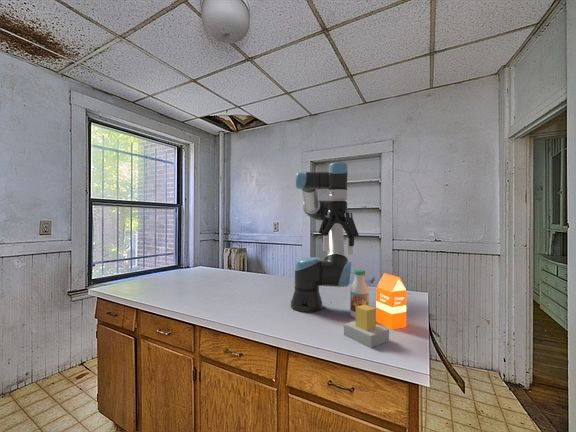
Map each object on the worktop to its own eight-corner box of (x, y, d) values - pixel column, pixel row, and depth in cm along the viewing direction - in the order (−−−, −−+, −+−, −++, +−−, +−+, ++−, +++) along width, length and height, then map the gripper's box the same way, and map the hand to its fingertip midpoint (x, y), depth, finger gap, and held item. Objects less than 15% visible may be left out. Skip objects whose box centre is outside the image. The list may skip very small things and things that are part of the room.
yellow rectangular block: (355, 326, 99) (355, 306, 99) (364, 323, 102) (364, 304, 102) (366, 331, 95) (366, 310, 95) (375, 327, 98) (376, 308, 98)
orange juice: (391, 329, 107) (392, 277, 107) (375, 321, 115) (376, 273, 115) (406, 326, 110) (407, 276, 110) (390, 318, 118) (390, 272, 118)
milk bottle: (347, 313, 124) (348, 268, 124) (364, 312, 125) (365, 268, 125) (353, 319, 116) (354, 272, 117) (371, 319, 117) (371, 272, 117)
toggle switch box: (343, 335, 101) (344, 311, 101) (361, 328, 107) (362, 307, 107) (370, 348, 91) (370, 322, 91) (388, 340, 97) (389, 316, 97)
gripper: (311, 201, 121) (310, 249, 121) (354, 198, 100) (354, 257, 100) (324, 202, 125) (323, 248, 125) (368, 199, 105) (367, 255, 105)
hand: (337, 252), depth 113 cm, fingers open, 13 cm apart
